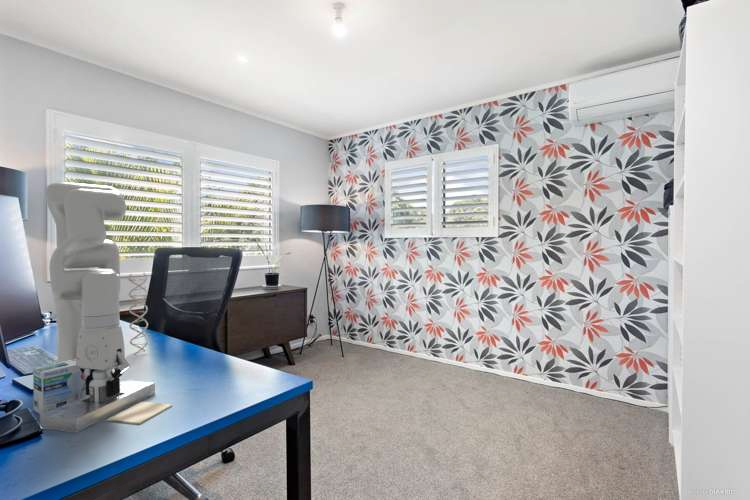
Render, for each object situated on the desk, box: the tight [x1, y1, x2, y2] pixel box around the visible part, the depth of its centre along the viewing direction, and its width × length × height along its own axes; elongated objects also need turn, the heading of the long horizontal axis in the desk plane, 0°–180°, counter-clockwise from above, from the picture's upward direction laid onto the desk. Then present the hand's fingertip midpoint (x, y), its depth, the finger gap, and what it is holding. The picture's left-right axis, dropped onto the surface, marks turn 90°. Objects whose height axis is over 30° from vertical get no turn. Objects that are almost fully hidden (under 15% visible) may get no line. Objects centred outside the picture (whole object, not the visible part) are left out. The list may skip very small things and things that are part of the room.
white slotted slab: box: [39, 379, 156, 434], centre depth 95 cm, size 10×22×3 cm, turn 168°
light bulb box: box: [32, 359, 87, 415], centre depth 97 cm, size 11×7×11 cm, turn 148°
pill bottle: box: [89, 370, 116, 404], centre depth 95 cm, size 5×5×10 cm
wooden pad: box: [106, 401, 173, 425], centre depth 93 cm, size 9×10×1 cm
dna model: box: [127, 272, 149, 356], centre depth 144 cm, size 7×6×30 cm
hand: (103, 393), depth 95 cm, fingers closed on pill bottle, 5 cm apart
